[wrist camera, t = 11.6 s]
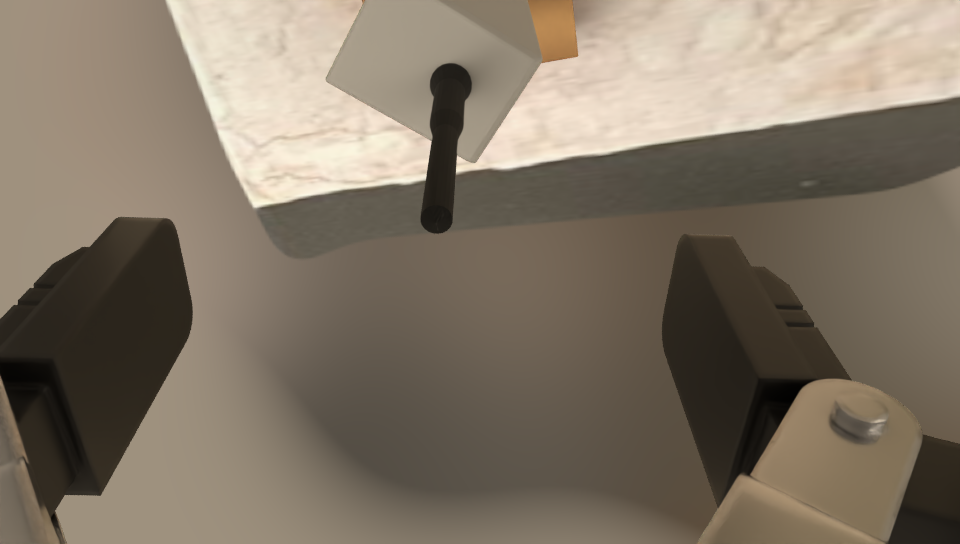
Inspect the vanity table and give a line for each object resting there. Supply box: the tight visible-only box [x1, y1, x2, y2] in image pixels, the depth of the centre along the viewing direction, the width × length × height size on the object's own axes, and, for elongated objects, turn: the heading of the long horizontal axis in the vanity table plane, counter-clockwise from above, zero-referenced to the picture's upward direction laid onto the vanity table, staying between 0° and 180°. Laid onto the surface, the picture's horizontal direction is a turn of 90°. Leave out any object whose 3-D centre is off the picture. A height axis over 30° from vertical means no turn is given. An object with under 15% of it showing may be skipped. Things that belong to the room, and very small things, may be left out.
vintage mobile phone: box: [326, 0, 543, 234], centre depth 24 cm, size 4×5×25 cm
